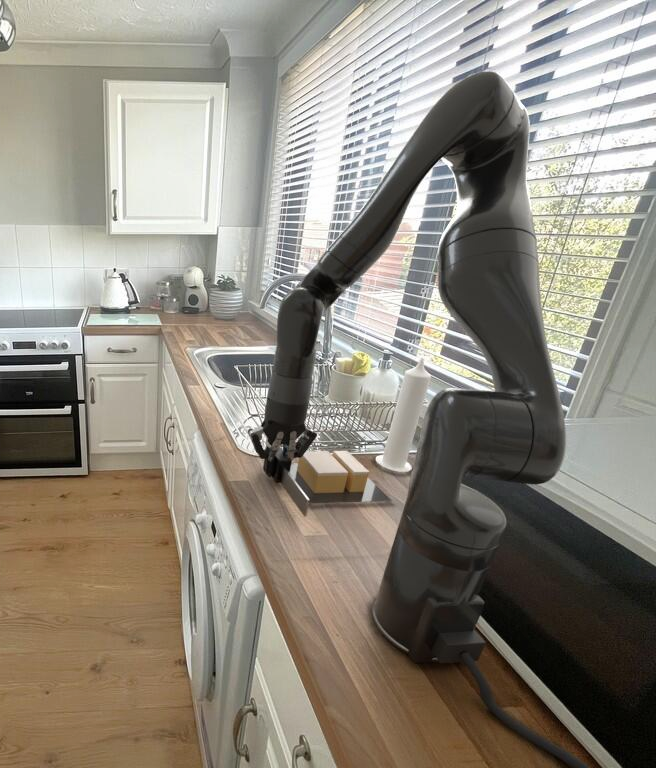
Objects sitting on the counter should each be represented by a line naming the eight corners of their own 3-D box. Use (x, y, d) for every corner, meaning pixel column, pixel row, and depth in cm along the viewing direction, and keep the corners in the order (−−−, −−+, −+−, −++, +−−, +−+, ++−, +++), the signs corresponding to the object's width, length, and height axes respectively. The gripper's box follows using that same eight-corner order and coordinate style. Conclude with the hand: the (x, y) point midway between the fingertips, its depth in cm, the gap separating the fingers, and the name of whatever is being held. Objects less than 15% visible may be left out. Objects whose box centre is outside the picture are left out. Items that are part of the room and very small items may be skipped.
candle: (367, 460, 93) (393, 354, 84) (391, 455, 96) (419, 351, 87) (393, 477, 87) (425, 364, 78) (418, 472, 89) (452, 362, 80)
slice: (364, 491, 81) (369, 471, 79) (349, 492, 80) (354, 472, 79) (342, 469, 88) (347, 450, 86) (329, 469, 88) (333, 450, 86)
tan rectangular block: (343, 492, 80) (348, 472, 79) (314, 493, 80) (318, 473, 78) (323, 469, 88) (327, 450, 86) (296, 470, 87) (300, 451, 86)
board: (391, 504, 78) (392, 500, 78) (310, 507, 77) (311, 503, 77) (351, 464, 92) (351, 461, 91) (281, 466, 90) (281, 463, 90)
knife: (264, 466, 86) (267, 445, 84) (275, 466, 86) (278, 445, 84) (298, 517, 71) (303, 492, 69) (311, 516, 71) (316, 492, 70)
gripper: (314, 387, 81) (300, 463, 87) (245, 388, 80) (236, 465, 86) (334, 402, 74) (317, 484, 80) (259, 403, 73) (248, 486, 79)
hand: (275, 474), depth 83 cm, fingers closed on knife, 2 cm apart
